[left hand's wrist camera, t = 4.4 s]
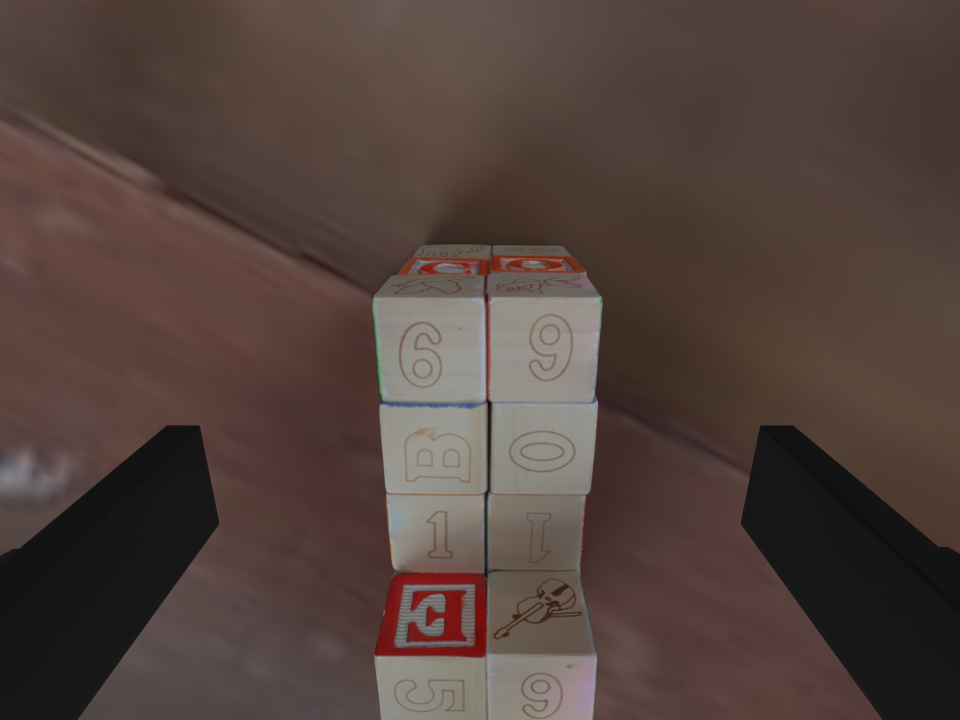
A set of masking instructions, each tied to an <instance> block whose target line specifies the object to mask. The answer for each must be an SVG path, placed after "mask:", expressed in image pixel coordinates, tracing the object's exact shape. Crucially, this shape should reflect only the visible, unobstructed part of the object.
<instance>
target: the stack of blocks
mask: <svg viewBox="0 0 960 720" xmlns="http://www.w3.org/2000/svg"><path fill="white" fill-rule="evenodd" d="M602 306H603V300H602V297H601V296H600V294H599V293H598V291H597V289H596V288H595V287H594V286H593V285H592V284H591V282H590V281H589V279H588V278H587V275H586V271H585V269H584V268H583V267H582V266H581V265H580V264H579V262H578V261H577V260H576V259H575V258H573V257H572V255H571V254H570V253H569V252H568V251H567V250H566V249H565V248H564V247H563V246H513V245H496V246H491V245H425V246H421V247H419V248H418V249H417V250H416V252H415V253H414V255H413V256H412V258H409V259H408V260H407V261H406V263H405V264H404V265H403V267H402V268H401V269H400V270H399V272H398V273H397V275H394V276H390V278H389V279H388V280H387V281H386V283H384V285H383V286H382V287H381V288H380V290H379V291H378V292H377V293H376V294H375V295H374V297H373V299H372V313H373V323H374V335H375V346H376V357H377V373H378V381H379V390H380V394H381V401H380V404H379V416H380V427H381V440H382V452H383V463H384V474H385V488H386V508H387V521H388V531H389V540H390V551H391V561H392V565H393V567H394V573H393V575H392V576H391V581H390V585H389V589H388V594H387V600H386V604H385V608H384V612H383V615H382V621H381V625H380V630H379V636H378V640H377V644H376V649H375V654H374V658H375V668H376V676H377V685H378V693H379V703H380V713H381V720H593V716H594V702H595V689H596V675H597V662H598V655H597V651H596V646H595V641H594V637H593V632H592V627H591V622H590V617H589V612H588V607H587V602H586V597H585V592H584V587H583V583H582V579H581V574H580V570H581V563H582V551H583V539H584V527H585V516H586V505H587V494H588V493H589V492H590V489H591V481H592V471H593V462H594V452H595V440H596V427H597V414H598V401H597V399H596V396H595V388H596V378H597V365H598V353H599V343H600V330H601V318H602Z"/></svg>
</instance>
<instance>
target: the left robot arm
mask: <svg viewBox="0 0 960 720" xmlns="http://www.w3.org/2000/svg"><path fill="white" fill-rule="evenodd" d="M218 525H219V520H218V515H217V510H216V505H215V500H214V495H213V490H212V485H211V480H210V475H209V470H208V465H207V460H206V455H205V450H204V445H203V440H202V435H201V430H200V425H167V426H166V427H164V428H163V429H162V430H161V431H160V432H158V433H157V434H156V435H155V436H154V437H152V438H151V439H150V440H149V441H148V442H147V443H145V444H144V445H143V446H142V447H141V448H139V449H138V450H137V451H136V452H135V453H133V454H132V455H131V456H130V457H129V458H127V459H126V460H125V461H124V462H123V463H121V464H120V465H119V466H118V467H117V468H115V469H114V470H113V471H112V472H111V473H109V474H108V475H107V476H106V477H105V478H103V479H102V480H101V481H100V482H99V483H97V484H96V485H95V486H94V487H93V488H91V489H90V490H89V491H88V492H87V493H85V494H84V495H83V496H82V497H81V498H79V499H78V500H77V501H76V502H75V503H73V504H72V505H71V506H70V507H69V508H68V509H66V510H65V511H64V512H63V513H62V514H60V515H59V516H58V517H57V518H56V519H54V520H53V521H52V522H51V523H50V524H48V525H47V526H46V527H45V528H44V529H42V530H41V531H40V532H39V533H38V534H36V535H35V536H34V537H33V538H32V539H30V540H29V541H28V542H27V543H26V544H24V545H23V546H22V547H21V548H20V549H12V550H10V551H9V552H7V553H5V554H3V555H1V556H0V720H78V718H79V717H80V715H81V714H82V713H83V711H84V710H85V708H86V707H87V706H88V704H89V703H90V702H91V700H92V699H93V697H94V696H95V695H96V693H97V692H98V691H99V689H100V688H101V686H102V685H103V684H104V682H105V681H106V679H107V678H108V677H109V675H110V674H111V673H112V671H113V670H114V668H115V667H116V666H117V664H118V663H119V662H120V660H121V659H122V657H123V656H124V655H125V653H126V652H127V650H128V649H129V648H130V646H131V645H132V644H133V642H134V641H135V639H136V638H137V637H138V635H139V634H140V633H141V631H142V630H143V628H144V627H145V626H146V624H147V623H148V621H149V620H150V619H151V617H152V616H153V615H154V613H155V612H156V610H157V609H158V608H159V606H160V605H161V604H162V602H163V601H164V599H165V598H166V597H167V595H168V594H169V592H170V591H171V590H172V588H173V587H174V586H175V584H176V583H177V581H178V580H179V579H180V577H181V576H182V575H183V573H184V572H185V570H186V569H187V568H188V566H189V565H190V564H191V562H192V561H193V559H194V558H195V557H196V555H197V554H198V552H199V551H200V550H201V548H202V547H203V546H204V544H205V543H206V541H207V540H208V539H209V537H210V536H211V535H212V533H213V532H214V530H215V529H216V528H217V526H218ZM741 525H742V526H743V528H744V529H745V530H746V532H747V533H748V535H749V536H750V537H751V539H752V540H753V541H754V543H755V544H756V546H757V547H758V548H759V550H760V551H761V552H762V554H763V555H764V557H765V558H766V559H767V561H768V562H769V564H770V565H771V566H772V568H773V569H774V570H775V572H776V573H777V575H778V576H779V577H780V579H781V580H782V581H783V583H784V584H785V586H786V587H787V588H788V590H789V591H790V592H791V594H792V595H793V597H794V598H795V599H796V601H797V602H798V604H799V605H800V606H801V608H802V609H803V610H804V612H805V613H806V615H807V616H808V617H809V619H810V620H811V621H812V623H813V624H814V626H815V627H816V628H817V630H818V631H819V633H820V634H821V635H822V637H823V638H824V639H825V641H826V642H827V644H828V645H829V646H830V648H831V649H832V650H833V652H834V653H835V655H836V656H837V657H838V659H839V660H840V662H841V663H842V664H843V666H844V667H845V668H846V670H847V671H848V673H849V674H850V675H851V677H852V678H853V679H854V681H855V682H856V684H857V685H858V686H859V688H860V689H861V691H862V692H863V693H864V695H865V696H866V697H867V699H868V700H869V702H870V703H871V704H872V706H873V707H874V708H875V710H876V711H877V713H878V714H879V715H880V717H881V718H882V720H960V554H959V553H957V552H956V551H954V550H952V549H950V548H948V547H938V546H937V545H936V544H934V543H933V542H932V541H931V540H930V539H928V538H927V537H926V536H925V535H924V534H922V533H921V532H920V531H919V530H918V529H916V528H915V527H914V526H913V525H912V524H910V523H909V522H908V521H907V520H906V519H904V518H903V517H902V516H901V515H900V514H898V513H897V512H896V511H895V510H894V509H892V508H891V507H890V506H889V505H888V504H887V503H885V502H884V501H883V500H882V499H881V498H879V497H878V496H877V495H876V494H875V493H873V492H872V491H871V490H870V489H869V488H867V487H866V486H865V485H864V484H863V483H861V482H860V481H859V480H858V479H857V478H855V477H854V476H853V475H852V474H851V473H849V472H848V471H847V470H846V469H845V468H843V467H842V466H841V465H840V464H839V463H837V462H836V461H835V460H834V459H833V458H831V457H830V456H829V455H828V454H827V453H825V452H824V451H823V450H822V449H821V448H819V447H818V446H817V445H816V444H815V443H813V442H812V441H811V440H810V439H809V438H808V437H806V436H805V435H804V434H803V433H802V432H800V431H799V430H798V429H797V428H796V427H794V426H793V425H760V430H759V435H758V440H757V445H756V450H755V455H754V460H753V465H752V470H751V475H750V480H749V485H748V490H747V495H746V500H745V505H744V510H743V515H742V520H741Z"/></svg>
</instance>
